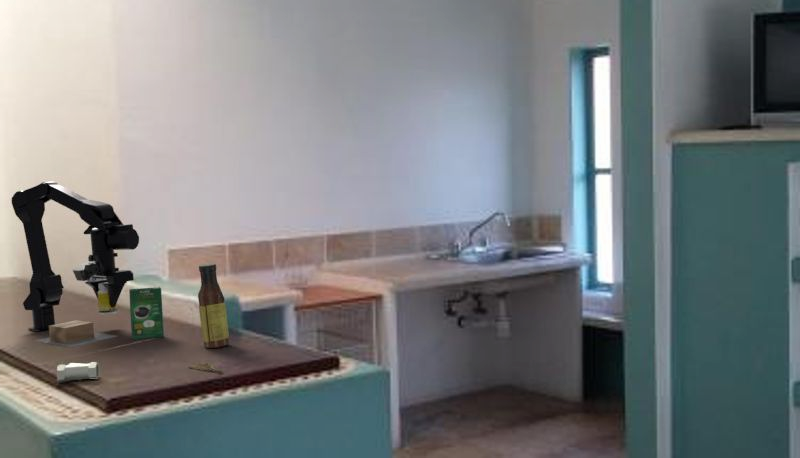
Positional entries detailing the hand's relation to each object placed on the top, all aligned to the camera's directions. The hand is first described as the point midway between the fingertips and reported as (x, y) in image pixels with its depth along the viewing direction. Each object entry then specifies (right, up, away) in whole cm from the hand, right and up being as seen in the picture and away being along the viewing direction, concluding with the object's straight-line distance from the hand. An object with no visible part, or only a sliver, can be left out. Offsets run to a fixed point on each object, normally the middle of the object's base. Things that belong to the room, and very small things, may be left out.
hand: (107, 306), depth 252 cm
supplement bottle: (0, -2, 0) cm, 2 cm away
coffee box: (+15, -7, -14) cm, 22 cm away
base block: (-6, -8, -11) cm, 15 cm away
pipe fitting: (+12, -11, -56) cm, 58 cm away
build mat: (-5, -8, -10) cm, 14 cm away
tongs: (+40, -10, -55) cm, 69 cm away
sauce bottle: (+36, -7, -30) cm, 47 cm away
